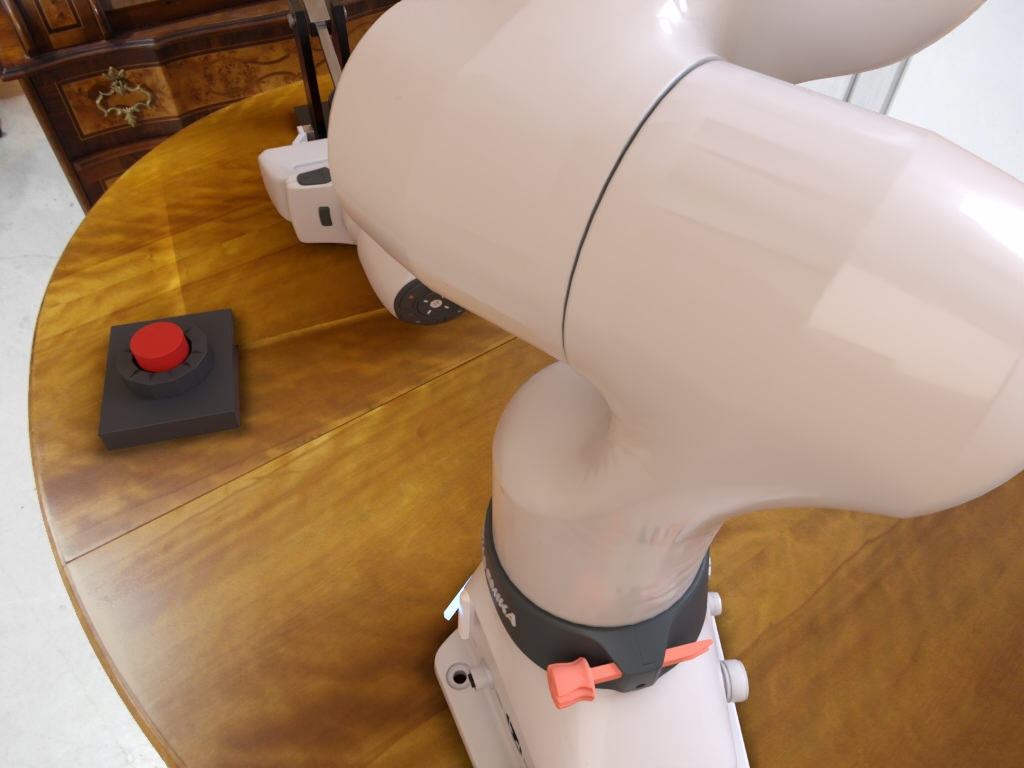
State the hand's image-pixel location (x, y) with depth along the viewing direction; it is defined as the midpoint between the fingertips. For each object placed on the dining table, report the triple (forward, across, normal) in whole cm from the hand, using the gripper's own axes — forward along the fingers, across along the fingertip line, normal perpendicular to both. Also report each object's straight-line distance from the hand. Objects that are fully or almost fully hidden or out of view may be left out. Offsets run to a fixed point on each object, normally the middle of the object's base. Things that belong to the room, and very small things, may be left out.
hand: (347, 123), depth 82 cm
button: (-25, +22, +2) cm, 33 cm away
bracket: (+9, 0, +6) cm, 11 cm away
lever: (+5, 0, -3) cm, 6 cm away
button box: (-25, +22, +6) cm, 34 cm away
